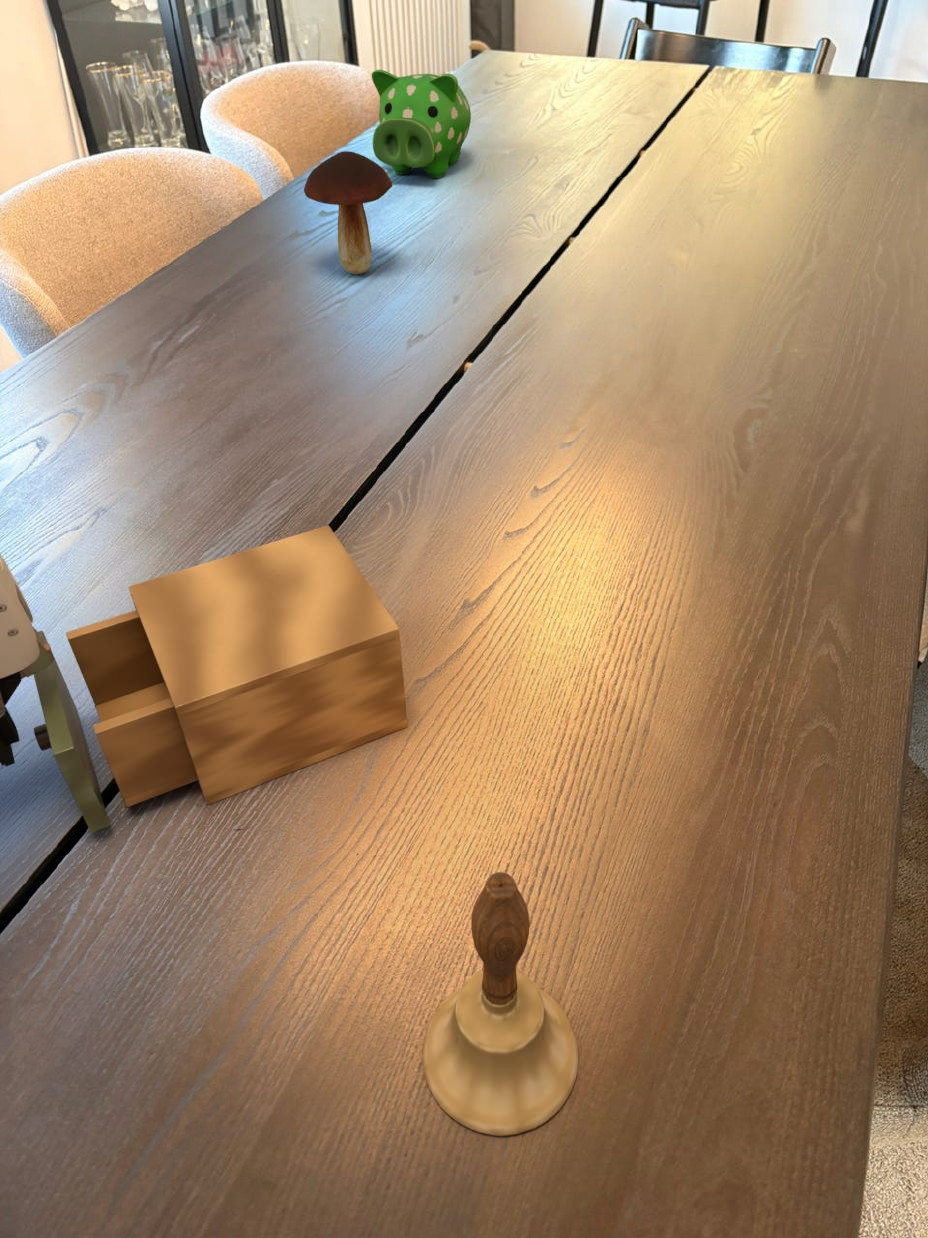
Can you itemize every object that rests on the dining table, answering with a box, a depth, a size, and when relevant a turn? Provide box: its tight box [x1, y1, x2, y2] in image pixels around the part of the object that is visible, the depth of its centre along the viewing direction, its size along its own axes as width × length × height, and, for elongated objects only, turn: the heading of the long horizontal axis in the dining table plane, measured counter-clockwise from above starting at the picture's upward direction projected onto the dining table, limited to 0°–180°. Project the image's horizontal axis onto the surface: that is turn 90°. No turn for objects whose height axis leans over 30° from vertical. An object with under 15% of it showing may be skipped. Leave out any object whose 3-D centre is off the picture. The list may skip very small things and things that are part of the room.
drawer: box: [32, 609, 198, 833], centre depth 64 cm, size 15×11×8 cm
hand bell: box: [421, 871, 580, 1137], centre depth 45 cm, size 8×8×16 cm
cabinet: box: [128, 524, 408, 806], centre depth 66 cm, size 15×13×10 cm
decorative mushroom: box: [303, 150, 393, 275], centre depth 122 cm, size 11×11×15 cm
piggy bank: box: [371, 69, 472, 179], centre depth 152 cm, size 14×18×15 cm
